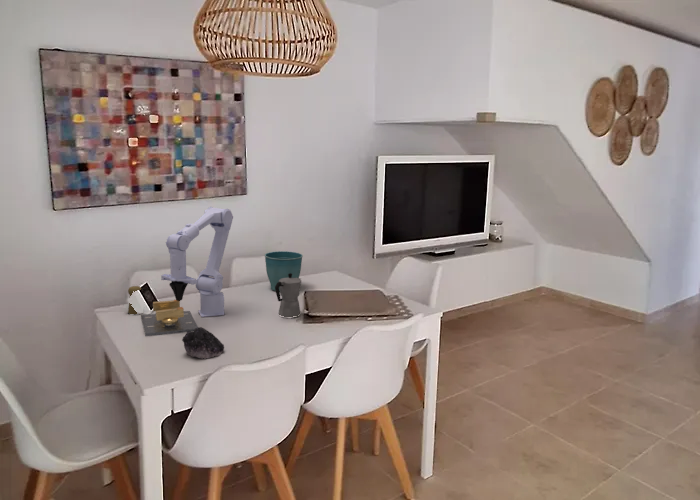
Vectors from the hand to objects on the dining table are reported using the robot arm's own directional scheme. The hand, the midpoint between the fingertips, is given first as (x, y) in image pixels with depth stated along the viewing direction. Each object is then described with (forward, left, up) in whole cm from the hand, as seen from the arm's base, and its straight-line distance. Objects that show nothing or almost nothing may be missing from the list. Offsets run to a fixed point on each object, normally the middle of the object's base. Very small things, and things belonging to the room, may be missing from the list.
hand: (179, 300), depth 218 cm
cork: (+15, -21, -11) cm, 28 cm away
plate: (+4, -3, -10) cm, 11 cm away
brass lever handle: (+4, +1, -8) cm, 9 cm away
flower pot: (-53, -38, -11) cm, 67 cm away
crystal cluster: (-4, +29, -11) cm, 31 cm away
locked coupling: (+4, -10, -8) cm, 14 cm away
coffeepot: (-43, +1, -11) cm, 45 cm away
